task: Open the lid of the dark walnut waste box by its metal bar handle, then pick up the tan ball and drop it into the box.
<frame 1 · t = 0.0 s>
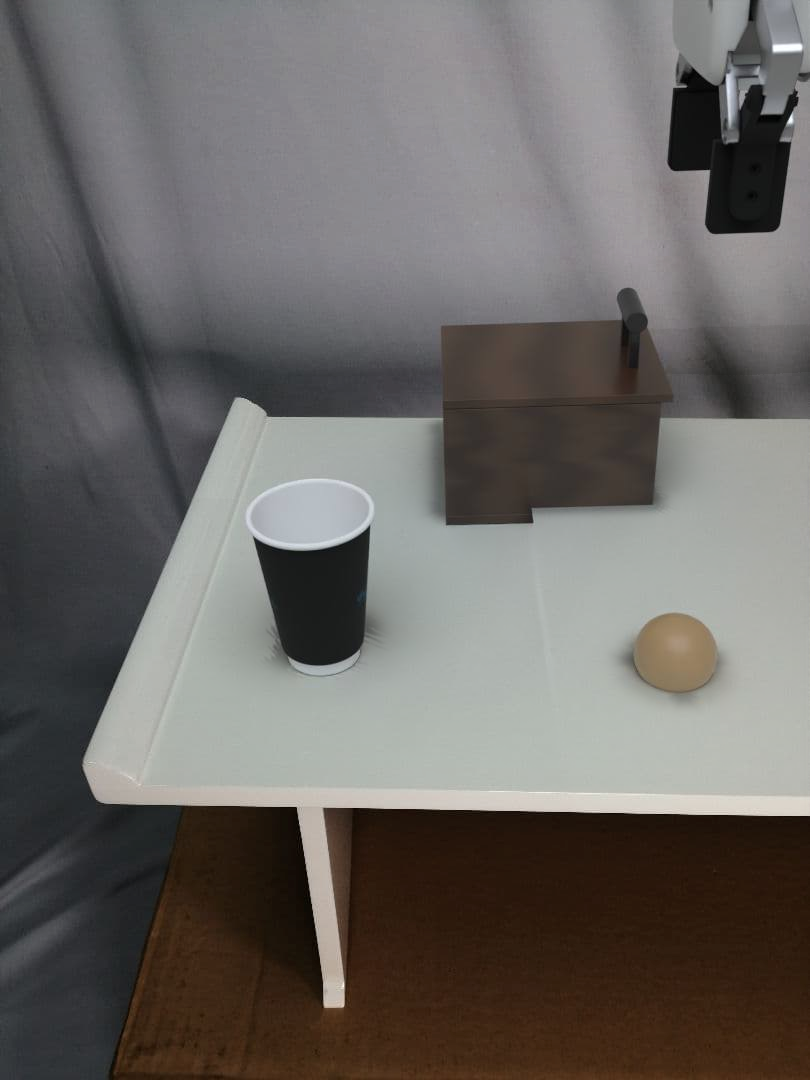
hand: (718, 197, 56), 30 cm above the table, tool pointing down, fingers open, 9 cm apart
box lid: (550, 334, 88), point 12 cm above the table, hinge at 0.0°
tan ball: (671, 685, 73), on the table
dixie cup: (324, 654, 77), on the table
waste box: (541, 477, 95), on the table
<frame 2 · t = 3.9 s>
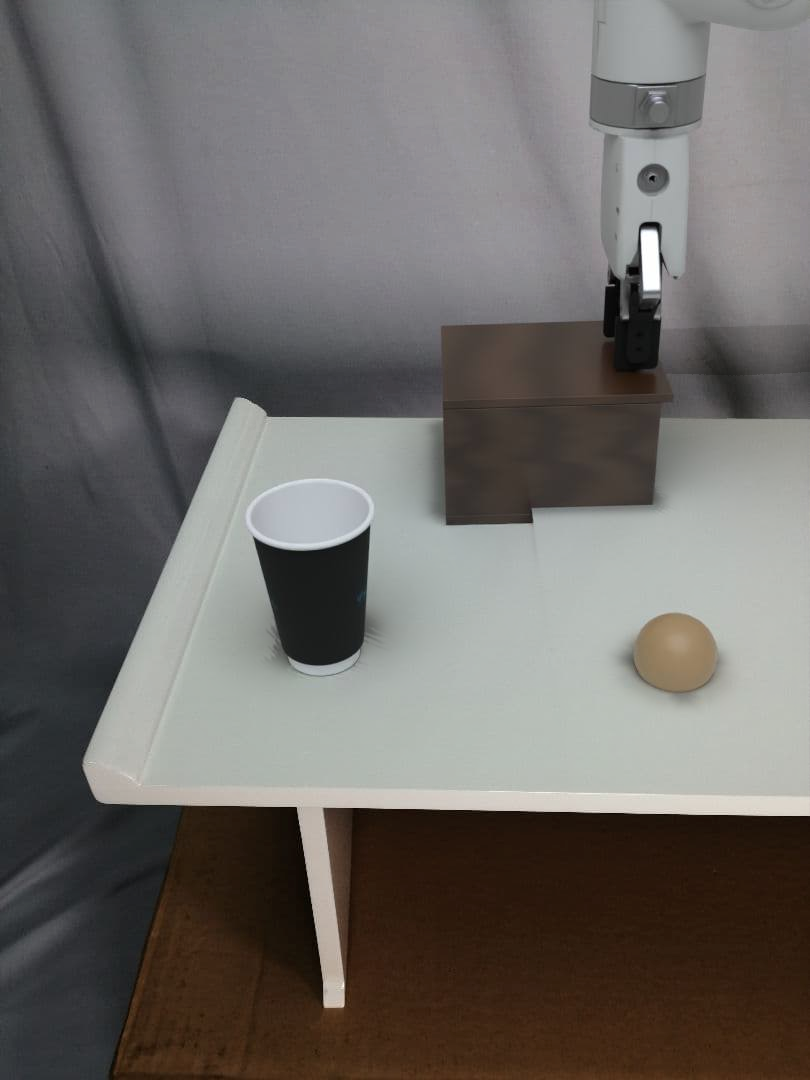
hand: (629, 348, 89), 11 cm above the table, tool pointing down, fingers closed on box lid, 5 cm apart
box lid: (550, 334, 88), point 12 cm above the table, hinge at 0.0°, touching gripper
everything else where it was.
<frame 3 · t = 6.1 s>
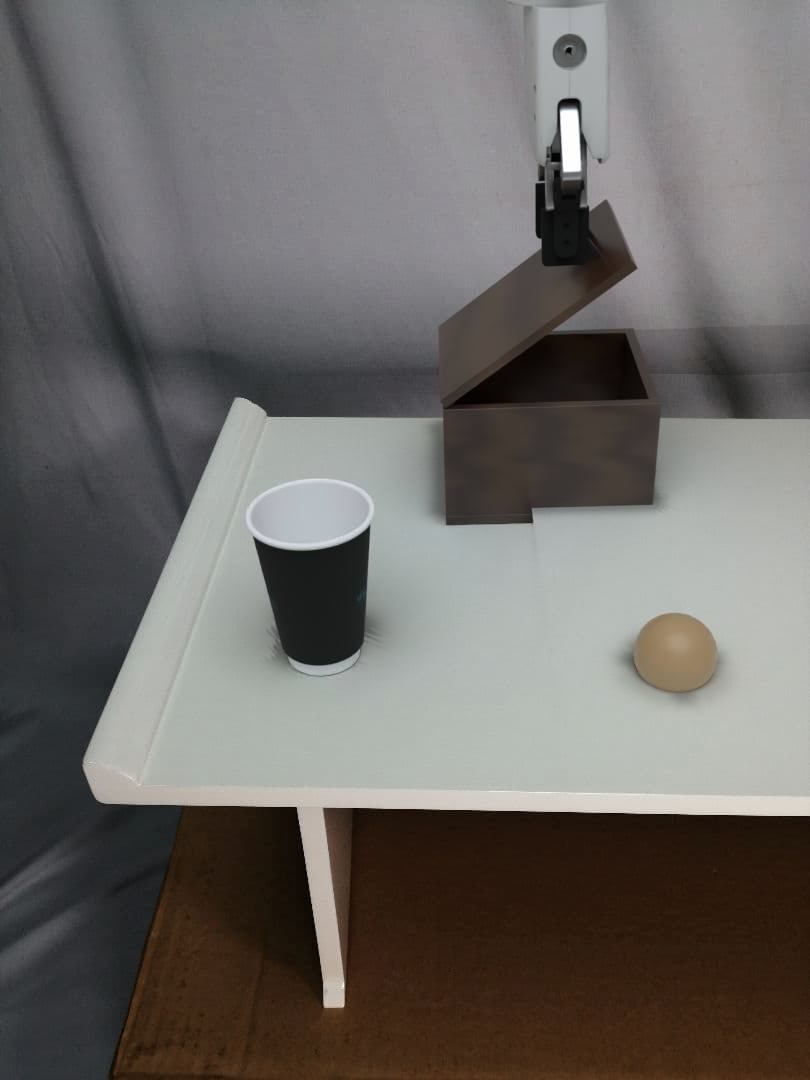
hand: (560, 247, 85), 19 cm above the table, tool pointing down, fingers closed on box lid, 5 cm apart
box lid: (510, 278, 86), point 17 cm above the table, hinge at 37.4°, touching gripper
everything else where it was.
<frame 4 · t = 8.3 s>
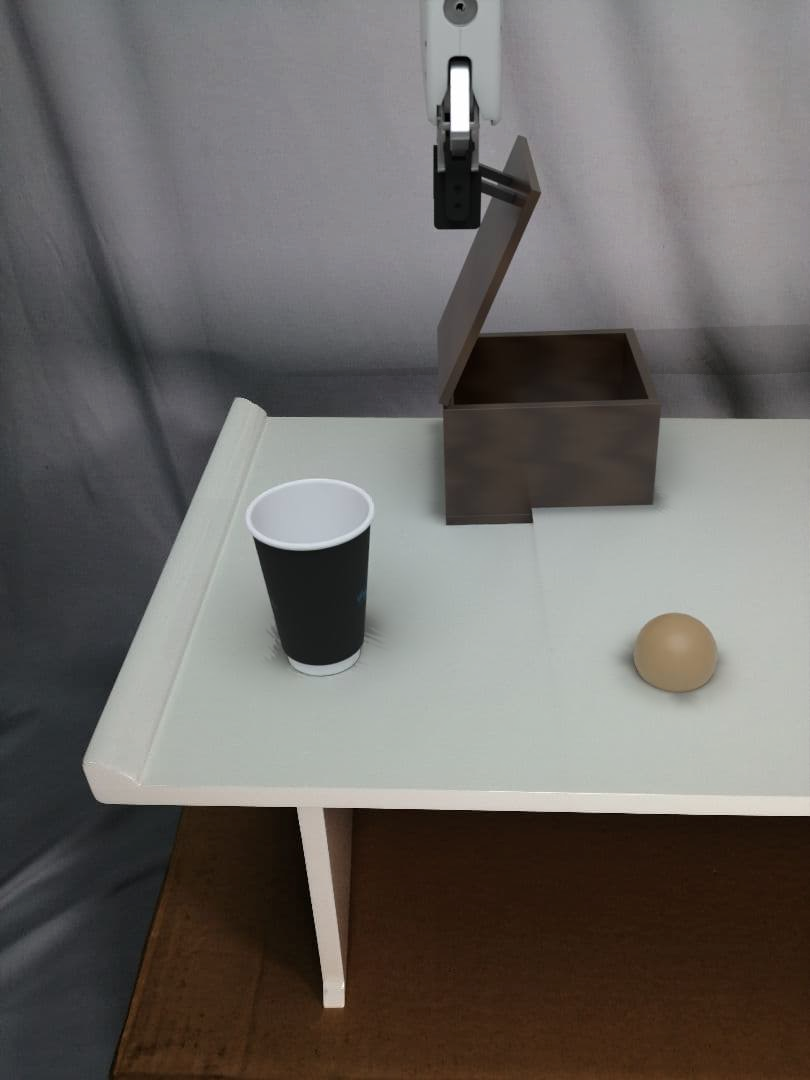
hand: (456, 211, 83), 22 cm above the table, tool pointing down, fingers open, 5 cm apart
box lid: (455, 257, 85), point 19 cm above the table, hinge at 67.0°
everything else where it was.
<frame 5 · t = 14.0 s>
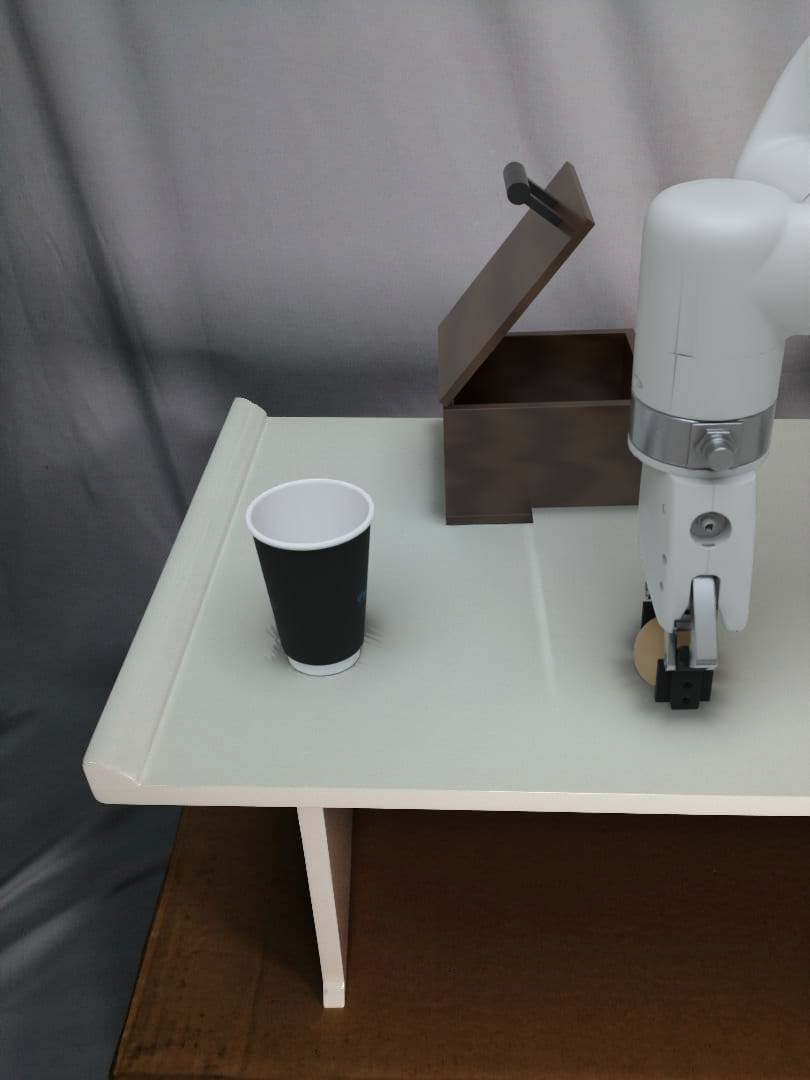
hand: (672, 679, 73), 0 cm above the table, tool pointing down, fingers closed on tan ball, 4 cm apart
box lid: (484, 264, 85), point 18 cm above the table, hinge at 52.3°
tan ball: (671, 685, 73), on the table, touching gripper
everything else where it was.
when the fingers open (13 cm above the table, at t = 20.3 s): tan ball drops 12 cm, resting on waste box.
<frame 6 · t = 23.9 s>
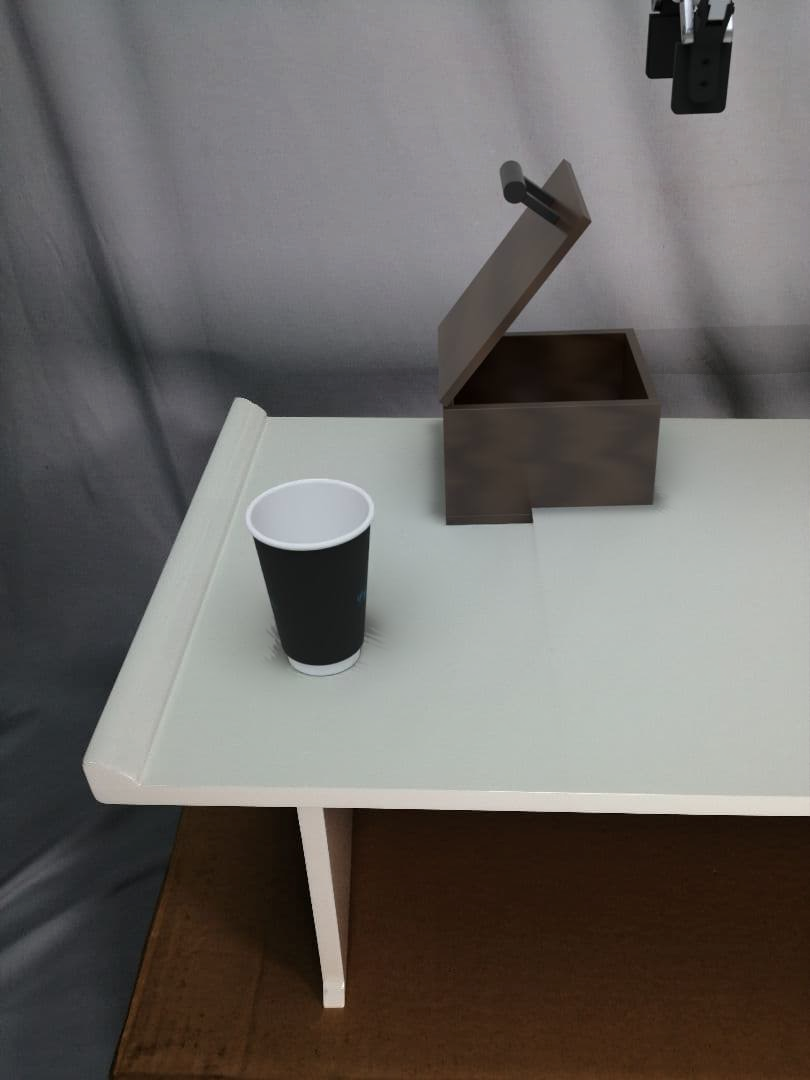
hand: (682, 94, 75), 30 cm above the table, tool pointing down, fingers open, 9 cm apart
box lid: (482, 263, 85), point 18 cm above the table, hinge at 53.4°
tan ball: (585, 473, 94), point 1 cm above the table, touching waste box
everything else where it was.
at the end: box lid at +53° (first picture: +0°); tan ball inside the target area in the waste box (3.6 cm from its centre), point 0.8 cm above the waste box's base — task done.
